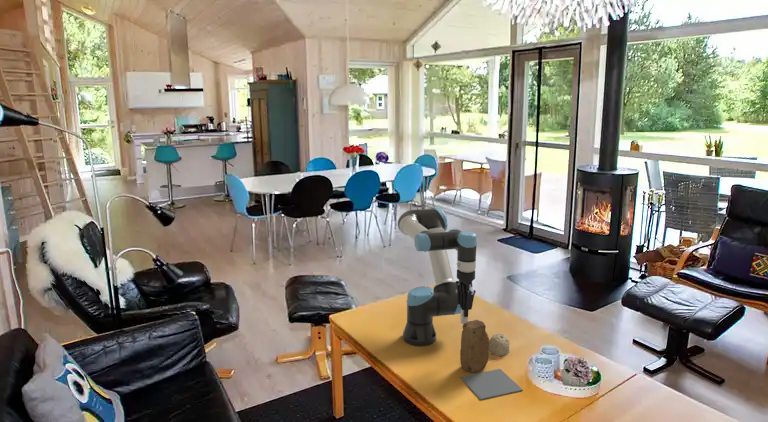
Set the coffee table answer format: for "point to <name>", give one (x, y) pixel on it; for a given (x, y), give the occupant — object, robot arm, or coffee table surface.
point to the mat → (490, 384)
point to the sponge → (499, 344)
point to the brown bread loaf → (474, 346)
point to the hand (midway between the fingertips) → (464, 322)
